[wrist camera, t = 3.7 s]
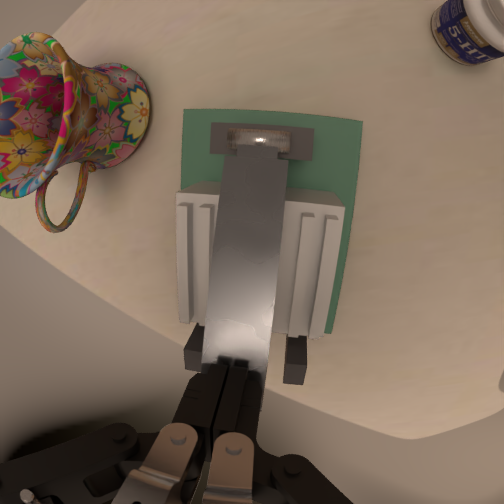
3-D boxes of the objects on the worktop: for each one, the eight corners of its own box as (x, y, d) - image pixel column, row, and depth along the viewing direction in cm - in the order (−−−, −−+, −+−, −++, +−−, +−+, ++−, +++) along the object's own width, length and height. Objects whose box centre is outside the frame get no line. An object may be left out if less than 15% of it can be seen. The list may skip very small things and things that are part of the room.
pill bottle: (424, 44, 17) (482, 7, 8) (435, -4, 15) (485, -50, 7) (480, 78, 17) (551, 63, 8) (488, 29, 15) (551, 2, 6)
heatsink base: (359, 122, 20) (394, 113, 12) (330, 327, 25) (339, 395, 18) (188, 110, 21) (136, 98, 13) (186, 310, 26) (151, 369, 19)
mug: (61, 81, 21) (-32, 74, 11) (153, 46, 19) (68, 2, 9) (79, 211, 25) (-10, 252, 15) (172, 195, 23) (92, 238, 13)
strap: (290, 137, 14) (291, 128, 13) (262, 404, 14) (260, 412, 13) (231, 133, 15) (228, 124, 14) (203, 395, 14) (198, 403, 13)
